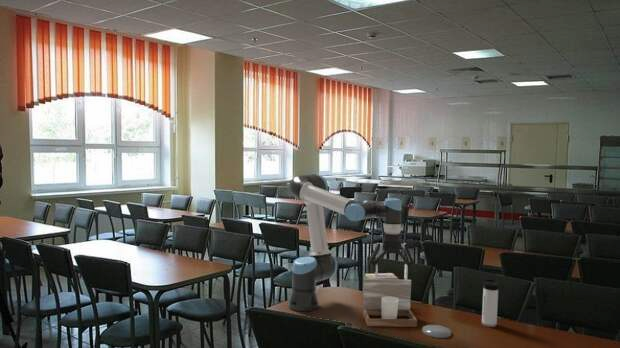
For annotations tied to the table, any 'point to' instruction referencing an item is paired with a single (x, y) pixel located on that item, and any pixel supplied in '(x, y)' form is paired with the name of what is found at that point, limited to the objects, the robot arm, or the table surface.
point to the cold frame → (381, 289)
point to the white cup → (389, 307)
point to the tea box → (382, 276)
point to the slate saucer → (436, 331)
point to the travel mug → (490, 303)
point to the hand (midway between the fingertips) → (390, 279)
